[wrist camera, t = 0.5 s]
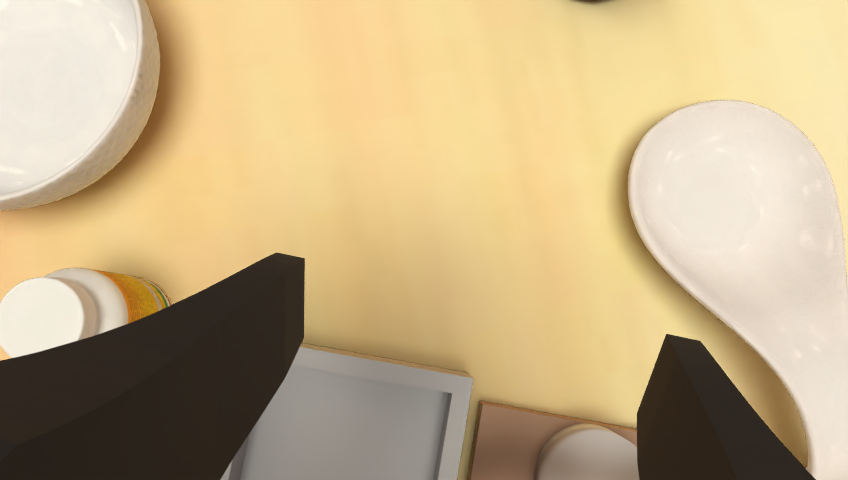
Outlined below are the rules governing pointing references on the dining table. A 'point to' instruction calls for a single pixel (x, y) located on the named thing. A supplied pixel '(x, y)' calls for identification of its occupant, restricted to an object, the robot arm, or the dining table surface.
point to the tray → (358, 421)
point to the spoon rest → (755, 249)
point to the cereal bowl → (71, 93)
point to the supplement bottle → (72, 308)
